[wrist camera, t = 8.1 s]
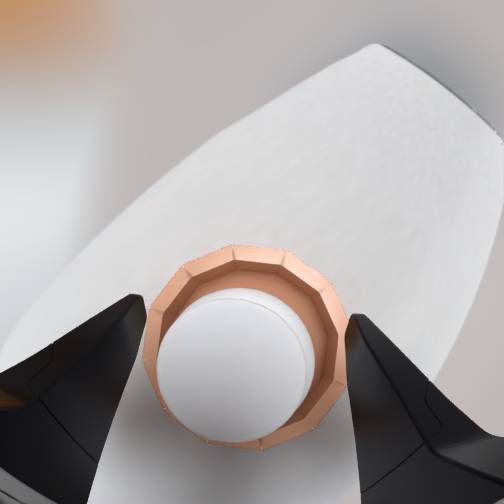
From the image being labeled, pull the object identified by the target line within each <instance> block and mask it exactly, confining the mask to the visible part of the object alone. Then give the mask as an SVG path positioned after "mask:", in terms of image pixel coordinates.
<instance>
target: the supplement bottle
mask: <svg viewBox="0 0 504 504" xmlns="http://www.w3.org/2000/svg"><path fill="white" fill-rule="evenodd" d="M314 368H315V356H314V349H313V344H312V341H311V338H310V335H309V333H308V331H307V329H306V327H305V325H304V323H303V322H302V320H301V319H300V318H299V316H298V315H297V314H296V313H295V312H294V311H293V310H292V309H291V308H290V307H289V306H288V305H287V304H285V303H284V302H282V301H281V300H280V299H278V298H276V297H274V296H272V295H270V294H268V293H265V292H262V291H259V290H254V289H248V288H230V289H223V290H219V291H216V292H213V293H210V294H208V295H205V296H203V297H201V298H200V299H198V300H196V301H195V302H193V303H192V304H191V305H190V306H189V307H187V308H186V309H185V310H184V311H183V312H182V314H181V315H180V316H179V317H178V318H177V320H176V321H175V322H174V323H173V324H172V326H171V327H170V328H169V330H168V331H167V333H166V335H165V336H164V338H163V340H162V343H161V345H160V348H159V352H158V357H157V365H156V372H157V381H158V386H159V389H160V392H161V395H162V397H163V400H164V401H165V403H166V405H167V407H168V408H169V410H170V411H171V412H172V414H173V415H174V416H175V417H176V418H177V419H178V420H179V421H180V422H181V423H182V424H183V425H184V426H185V427H187V428H188V429H190V430H191V431H193V432H194V433H196V434H198V435H200V436H203V437H205V438H208V439H211V440H215V441H219V442H228V443H240V442H247V441H252V440H256V439H259V438H262V437H264V436H266V435H268V434H270V433H272V432H274V431H275V430H277V429H278V428H279V427H281V426H282V425H283V424H284V423H285V422H286V421H287V420H288V419H289V418H290V417H291V416H292V415H293V413H294V412H295V410H296V409H297V408H298V407H299V406H300V404H301V403H302V402H303V400H304V398H305V397H306V395H307V393H308V391H309V388H310V386H311V383H312V379H313V375H314Z"/></svg>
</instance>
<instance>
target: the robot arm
mask: <svg viewBox="0 0 504 504" xmlns="http://www.w3.org/2000/svg"><path fill="white" fill-rule="evenodd" d="M146 319H147V314H146V309H145V304H144V300H143V297H142V296H141V295H137V294H129V295H127V296H126V297H124V298H122V299H121V300H119V301H118V302H116V303H114V304H113V305H111V306H110V307H108V308H106V309H105V310H103V311H102V312H100V313H98V314H97V315H95V316H94V317H92V318H90V319H89V320H87V321H86V322H84V323H83V324H81V325H79V326H78V327H76V328H75V329H73V330H72V331H70V332H68V333H67V334H65V335H64V336H62V337H61V338H59V339H58V340H56V341H54V342H53V344H52V343H51V344H50V345H48V346H47V347H45V348H44V349H42V350H40V351H39V352H37V353H36V354H34V355H32V356H31V357H29V358H27V359H25V360H24V361H22V362H20V363H18V364H16V365H14V366H13V367H11V368H9V369H7V370H5V371H3V372H2V373H0V504H87V501H88V498H89V494H90V491H91V487H92V484H93V480H94V477H95V474H96V470H97V467H98V463H99V460H100V457H101V454H102V451H103V448H104V445H105V442H106V439H107V436H108V433H109V430H110V427H111V424H112V421H113V418H114V415H115V413H116V410H117V407H118V404H119V402H120V399H121V396H122V393H123V391H124V388H125V385H126V383H127V380H128V378H129V375H130V372H131V370H132V367H133V365H134V362H135V359H136V356H137V352H138V349H139V345H140V341H141V338H142V334H143V330H144V327H145V323H146ZM344 341H345V358H346V379H347V386H348V393H349V399H350V406H351V413H352V420H353V427H354V435H355V443H356V452H357V461H358V470H359V481H360V492H361V504H504V437H498V436H494V435H491V434H489V433H487V432H486V431H484V430H483V429H482V428H480V427H479V426H478V425H477V424H476V423H475V422H473V421H472V420H471V419H470V418H469V417H468V416H467V415H465V414H464V413H463V412H462V411H461V410H460V409H459V408H458V407H456V406H455V405H454V404H453V403H452V402H451V401H450V400H449V399H448V398H447V397H446V396H445V395H444V394H442V392H441V391H440V390H439V389H438V388H437V387H436V386H435V385H434V384H433V383H432V382H431V381H429V379H428V378H427V377H426V376H425V375H424V374H423V373H422V372H421V371H420V370H419V369H418V368H417V367H416V366H415V365H414V364H413V363H412V362H411V361H410V359H409V358H408V357H407V356H406V355H405V354H404V353H403V352H402V351H401V350H400V349H399V348H398V347H397V346H396V345H395V344H394V343H393V342H392V341H391V340H390V339H389V338H388V337H387V336H386V335H385V334H384V333H383V332H382V331H381V330H380V329H379V328H378V327H377V326H376V325H375V324H374V323H373V322H372V321H371V320H370V319H369V318H368V317H367V316H366V315H364V314H352V315H351V316H350V319H349V322H348V325H347V328H346V331H345V336H344Z"/></svg>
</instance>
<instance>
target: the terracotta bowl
mask: <svg viewBox="0 0 504 504" xmlns="http://www.w3.org/2000/svg"><path fill="white" fill-rule="evenodd" d="M183 265H184V268H185V269H184V268H183V267H182V266H181V267H180V268H179V270H178V271H177V272H176V273H175V275H174V276H173V277H172V279H171V280H170V281H169V282H168V284H167V285H166V286H165V287H164V289H163V290H162V291H161V293H160V294H159V295H158V297H157V298H156V299H155V300H154V302H153V303H152V304H151V306H150V307H151V308H153V309H149V312H148V319H147V326H146V333H145V341H144V349H143V357H142V359H145V361H143V363H144V366H145V369H146V371H147V374H148V376H149V379H150V381H151V383H152V386H153V388H154V390H155V393H156V395H157V397H158V400H159V402H160V404H161V406H162V409H163V408H166V407H167V405H166V403H165V401H164V400H163V397H162V395H161V392H160V389H159V386H158V381H157V372H156V365H157V357H158V352H159V348H160V345H161V343H162V340H163V338H164V336H165V335H166V333H167V331H168V330H169V328H170V327H171V326H172V324H173V323H174V322H175V321H176V320H177V318H178V317H179V316H180V315H181V314H182V312H183V311H184V310H185V309H186V308H187V307H189V306H190V305H191V304H192V303H193V302H195V301H196V300H198V299H200V298H201V297H203V296H205V295H208V294H210V293H213V292H216V291H219V290H223V289H230V288H248V289H254V290H259V291H262V292H265V293H268V294H270V295H272V296H274V297H276V298H278V299H280V300H281V301H282V302H284V303H285V304H287V305H288V306H289V307H290V308H291V309H292V310H293V311H294V312H295V313H296V314H297V315H298V316H299V318H300V319H301V320H302V322H303V323H304V325H305V327H306V329H307V331H308V333H309V335H310V338H311V341H312V344H313V349H314V356H315V368H314V375H313V379H312V383H311V386H310V388H309V391H308V393H307V395H306V397H305V398H304V400H303V402H302V403H301V404H300V406H299V407H298V408H297V409H296V410H295V412H294V413H293V415H292V416H291V417H290V418H289V419H288V420H287V421H286V422H285V423H284V424H283V425H282V426H281V427H279V428H278V429H277V430H275V431H274V432H272V433H270V434H268V435H266V436H264V437H262V438H259V439H256V440H252V441H247V442H240V443H228V442H219V441H215V440H211V439H209V440H208V438H205V437H203V436H200V435H198V434H196V433H194V432H193V431H191V430H190V429H188V428H187V427H186V428H187V429H188V430H190V431H191V432H192V433H194V434H195V435H196V436H198V437H199V438H201V439H202V440H203V441H205V442H206V441H207V440H208V443H210V444H216V445H222V446H229V447H236V448H244V449H253V450H261V446H262V448H263V450H265V449H267V448H270V447H273V446H275V445H278V444H281V443H283V442H286V441H288V440H291V439H293V438H295V437H298V436H300V435H302V434H305V433H307V432H309V431H312V428H311V426H312V427H313V428H315V427H316V426H317V425H318V424H319V423H320V421H321V420H322V419H323V418H324V416H325V415H326V414H327V412H328V411H329V410H330V409H331V407H332V406H333V405H334V403H335V402H336V401H337V399H338V398H339V397H340V395H341V394H342V393H343V391H344V390H345V389H346V386H345V385H343V384H346V385H347V379H346V358H345V341H344V336H345V331H346V328H347V325H348V322H349V320H348V317H347V315H346V313H345V311H344V308H343V306H342V304H341V302H340V300H339V297H338V295H337V293H336V291H335V289H334V287H333V284H330V285H328V284H329V283H330V281H329V280H328V279H326V278H325V277H324V276H322V275H321V274H319V273H318V272H317V271H315V270H314V269H312V268H311V267H310V266H308V265H307V264H305V263H304V262H303V261H301V260H300V259H298V258H297V257H296V256H294V255H293V254H291V253H290V252H289V251H288V252H287V253H286V254H285V250H280V249H271V248H262V247H254V246H245V245H235V244H234V245H233V248H232V246H231V245H229V246H227V247H224V248H222V249H219V250H217V251H214V252H212V253H210V254H207V255H205V256H202V257H200V258H198V259H195V260H193V261H191V262H188V263H186V264H183ZM164 411H165V412H166V413H168V414H169V415H170V416H171V417H173V418H174V419H175V420H176V421H178V422H179V423H180V424H182V423H181V422H180V421H179V420H178V419H177V418H176V417H175V416H174V415H173V414H172V412H171V411H170V410H169V408H168V407H167V408H166V409H165V410H164ZM182 425H183V424H182ZM183 426H184V425H183ZM184 427H185V426H184Z"/></svg>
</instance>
